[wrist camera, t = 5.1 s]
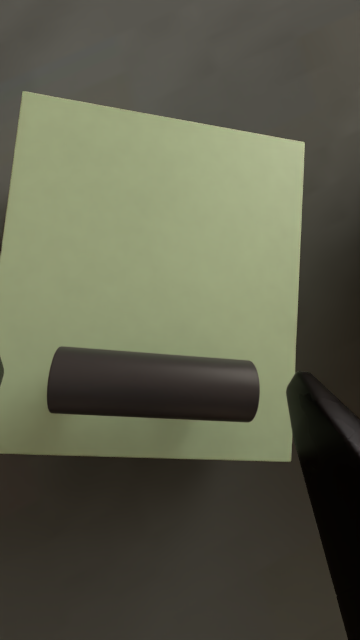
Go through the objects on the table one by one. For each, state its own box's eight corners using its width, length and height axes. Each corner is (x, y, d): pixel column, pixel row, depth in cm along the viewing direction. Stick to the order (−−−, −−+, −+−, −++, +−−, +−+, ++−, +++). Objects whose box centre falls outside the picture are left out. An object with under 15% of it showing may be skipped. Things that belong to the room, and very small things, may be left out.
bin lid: (284, 457, 13) (360, 513, 9) (-19, 447, 11) (-112, 510, 7) (298, 150, 14) (370, 64, 10) (27, 102, 13) (-29, -26, 8)
